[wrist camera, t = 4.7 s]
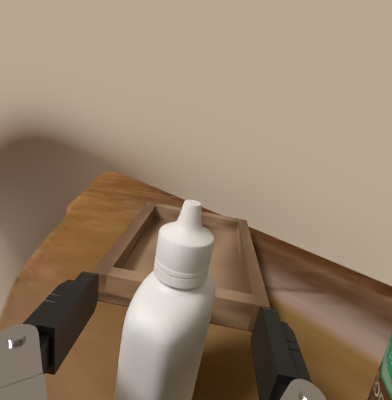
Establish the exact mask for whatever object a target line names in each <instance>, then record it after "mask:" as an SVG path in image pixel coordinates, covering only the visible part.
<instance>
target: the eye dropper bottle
mask: <svg viewBox="0 0 392 400" xmlns="http://www.w3.org/2000/svg"><path fill="white" fill-rule="evenodd" d="M214 243H215V238H214V235H213V234H212V233H211V232H210V231H209V230H208V229H206V228H205V227H203V226H202V222H201V203H200V202H198V201H195V200H185V202H184V204H183V207H182V210H181V212H180V215H179V217H178V219H177V221H176V222H170V223H167V224H165V225H163V226H162V227H161V228H160V229H159V234H158V241H157V248H156V255H155V262H154V271H152V272H151V273H150V274H149V275H148V276H147V277H146V278H145V280H144V281H143V282H142V283H141V285H140V286H139V288H138V289H137V291H136V293H135V294H134V296H133V298H132V300H131V303H130V305H129V308H128V310H127V314H126V317H125V321H124V326H123V332H122V339H121V346H120V354H119V362H118V371H117V380H116V388H115V397H114V400H192V396H193V392H194V387H195V383H196V379H197V375H198V370H199V366H200V362H201V357H202V353H203V349H204V345H205V340H206V336H207V332H208V328H209V323H210V319H211V314H212V310H213V306H214V300H215V281H214V278H213V275H212V274H211V272H210V271H209V266H210V261H211V257H212V252H213V248H214Z"/></svg>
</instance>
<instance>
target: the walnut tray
mask: <svg viewBox="0 0 392 400" xmlns="http://www.w3.org/2000/svg"><path fill="white" fill-rule="evenodd" d="M181 210H182V208H179V207H174V206H169V205H164V204H159V203H153V202H148V203H147V205H146V206H145V207H144V208H143V210H142V211H141V212H140V213H139V214H138V216H137V217H136V218H135V219H134V221H133V222H132V223H131V224H130V226H129V227H128V228H127V229H126V231H125V232H124V233H123V234H122V235H121V237H120V238H119V239H118V240H117V242H116V243H115V244H114V245H113V247H112V248H111V249H110V250H109V251H108V253H107V254H106V255H105V256H104V258H103V259H102V260H101V261H100V263H99V264H98V265H97V266H96V268H95V269H94V270H93V271H92V273H94V274H98V275H99V285H98V299H97V300H99V301H104V302H109V303H114V304H119V305H124V306H129V305H130V303H131V300H132V298H133V296H134V294H135V293H136V291H137V289H138V288H139V286H140V285H141V283H142V282H143V281H144V280H145V278H146V277H147V276H148V275H149V274H150V273H151V272H152V271H154V262H155V255H156V248H157V241H158V234H159V229H160V228H161V227H162V226H163V225H165V224H167V223H170V222H176V221H177V219H178V217H179V215H180V212H181ZM201 222H202V226H203V227H205V228H206V229H208V230H209V231H210V232H211V233H212V234H213V235H214V238H215V243H214V248H213V252H212V257H211V261H210V266H209V271H210V272H211V274H212V275H213V278H214V281H215V300H214V306H213V310H212V314H211V319H210V323H213V324H218V325H223V326H228V327H233V328H238V329H243V330H248V331H253V327H254V324H255V321H256V317H257V314H258V311H259V308H260V307H265V308H270V304H269V301H268V297H267V293H266V290H265V286H264V282H263V279H262V275H261V272H260V268H259V264H258V261H257V257H256V253H255V250H254V246H253V242H252V239H251V235H250V231H249V228H248V224H247V221H246V220H241V219H237V218H231V217H226V216H221V215H216V214H211V213H206V212H201Z"/></svg>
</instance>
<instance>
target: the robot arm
mask: <svg viewBox="0 0 392 400" xmlns="http://www.w3.org/2000/svg"><path fill="white" fill-rule="evenodd" d="M98 285H99V275H98V274H94V273H89V272H84V271H83V272H81V273H80V275H79V276H78V277H77V278H76V279H75V280H74V281H73V280H67V281H66V282H64V283H62V284H60V285H58V286H57V288H56V289H55V290H54V291H53V292H52V293H51V294H50V295H49V296H48V297H47V298H46V300H45V301H43V302H42V304H41V305H40V306H39V307H38V308H37V309H36V310H35V311H34V312H33V313H32V314H31V315H30V316H29V317H28V318H27V320H26V321H25V322H24V323H23V324H19V325H15V326H12V327H9V328H7V329H5V330H4V331H2V332H1V333H0V400H47V392H46V384H45V376H44V374H45V373H48V374H53V375H55V373H56V372H57V370H58V368H59V367H60V365H61V364H62V362H63V360H64V359H65V357H66V356H67V354H68V353H69V351H70V349H71V348H72V346H73V345H74V343H75V341H76V340H77V338H78V337H79V335H80V333H81V332H82V330H83V329H84V327H85V325H86V324H87V322H88V321H89V319H90V318H91V316H92V314H93V313H94V310H95V308H96V305H97V299H98ZM251 347H252V354H253V360H254V367H255V374H256V381H257V387H258V394H259V400H326V398H325V396H324V394H323V393H322V392H321V391H320V390H319V389H318V388H317V387H316V386H315V385H314V384H312V382H311V379H310V377H309V374H308V371H307V368H306V365H305V362H304V360H303V357H302V354H301V352H300V348H299V345H298V344H297V340H296V337H295V334H294V332H293V331H292V329H291V328H290V327H289V326H288V324H287V323H283V322H280V319H279V315H278V312H277V310H275V309H270V308H265V307H260V308H259V311H258V314H257V317H256V321H255V324H254V327H253V331H252V336H251Z"/></svg>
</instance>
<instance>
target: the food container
mask: <svg viewBox="0 0 392 400" xmlns="http://www.w3.org/2000/svg"><path fill="white" fill-rule="evenodd" d="M368 400H392V335H391V337H390V340H389V343H388V346H387V348H386V351H385V354H384V356H383V359H382V362H381V365H380V367H379V370H378V373H377V376H376V378H375V381H374V384H373V386H372V389H371V392H370V395H369V397H368Z"/></svg>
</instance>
